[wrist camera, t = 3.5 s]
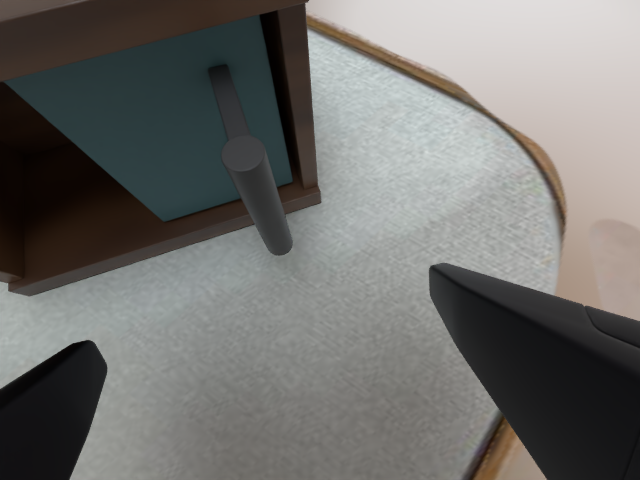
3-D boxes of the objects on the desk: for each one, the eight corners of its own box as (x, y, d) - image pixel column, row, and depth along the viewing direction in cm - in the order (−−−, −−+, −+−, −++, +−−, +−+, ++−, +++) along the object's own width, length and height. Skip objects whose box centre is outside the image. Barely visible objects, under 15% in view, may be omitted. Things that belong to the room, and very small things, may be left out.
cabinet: (321, 203, 23) (306, -55, 9) (28, 296, 21) (-563, 157, 7) (277, 90, 27) (220, -210, 13) (27, 161, 25) (-356, -99, 11)
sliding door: (320, 255, 19) (308, 127, 9) (178, 303, 19) (-13, 222, 8) (289, 172, 22) (251, -9, 11) (161, 211, 21) (-6, 57, 10)
